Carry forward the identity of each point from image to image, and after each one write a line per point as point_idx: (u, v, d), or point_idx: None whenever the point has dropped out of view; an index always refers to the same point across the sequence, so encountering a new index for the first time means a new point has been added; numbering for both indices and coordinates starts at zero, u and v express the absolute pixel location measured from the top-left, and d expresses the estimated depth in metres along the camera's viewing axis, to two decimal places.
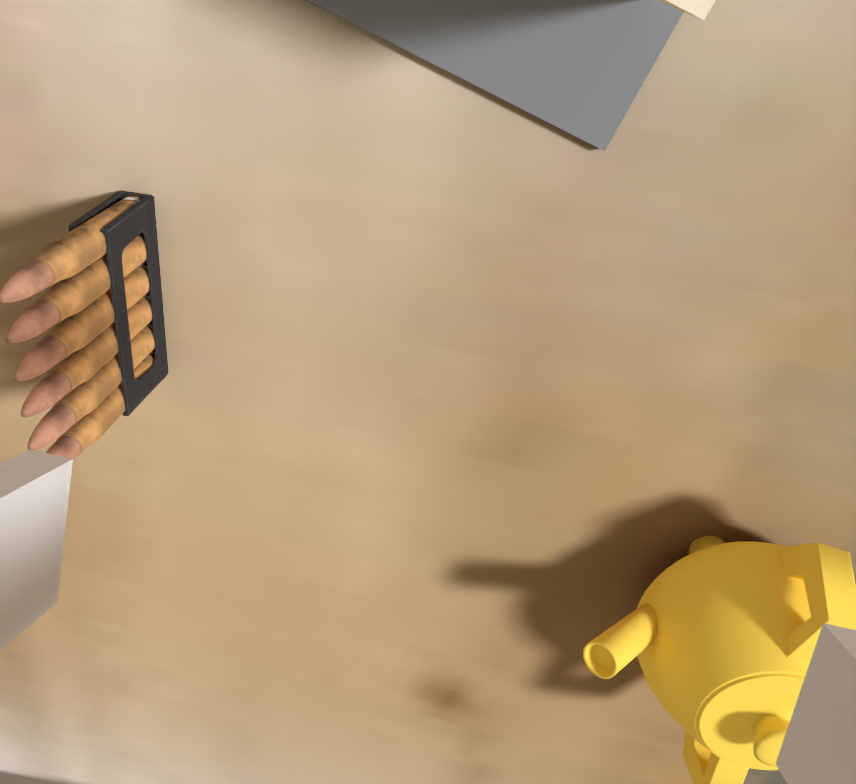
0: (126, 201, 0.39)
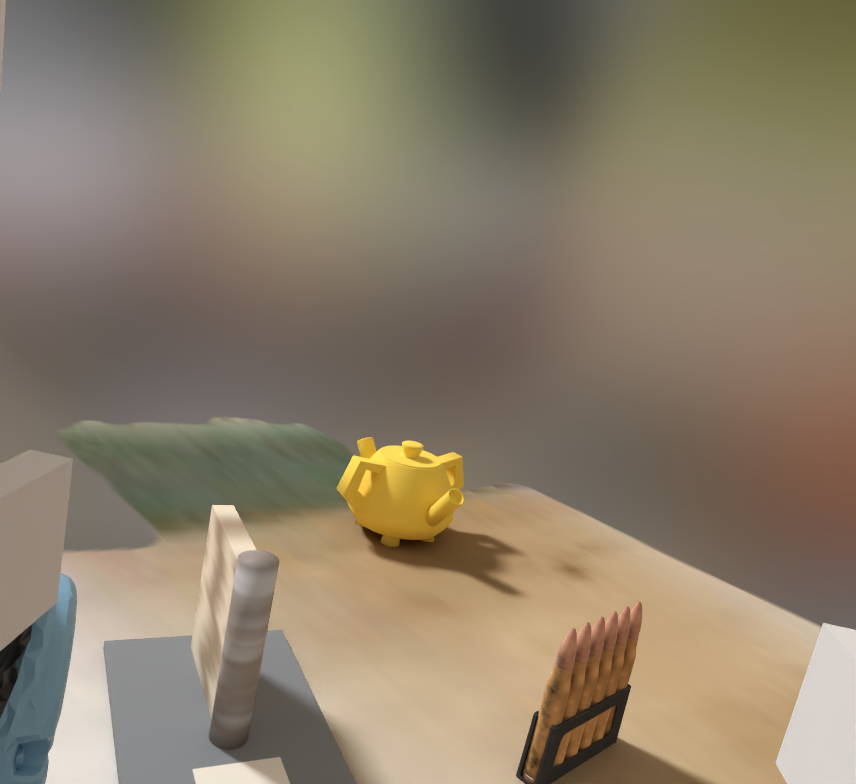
0: (529, 768, 0.54)
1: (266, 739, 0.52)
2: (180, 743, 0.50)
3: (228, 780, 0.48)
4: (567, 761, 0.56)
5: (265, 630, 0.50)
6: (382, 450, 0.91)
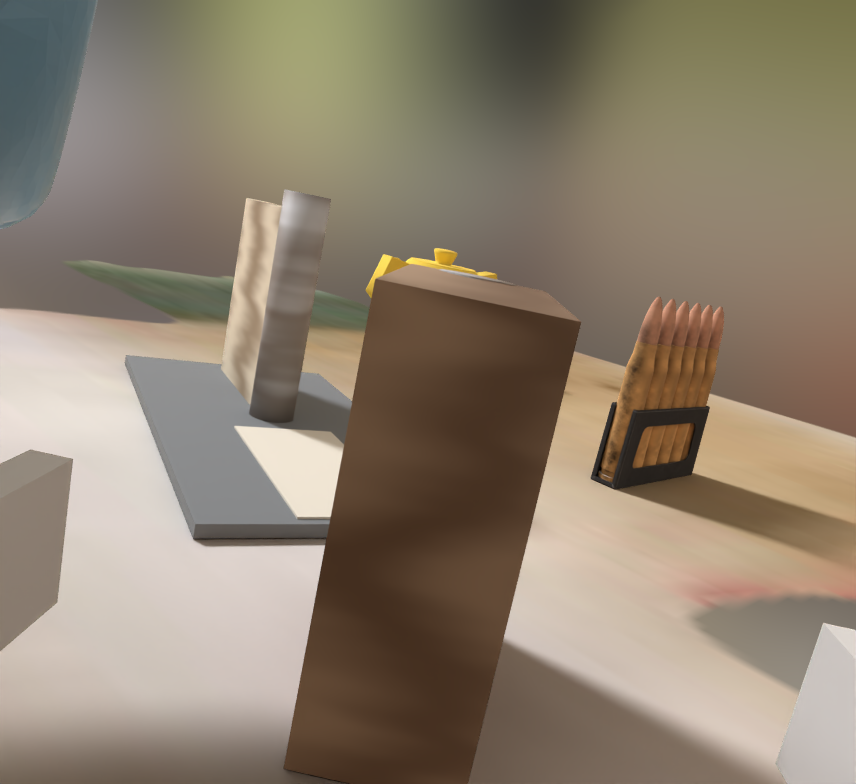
0: (607, 465, 0.48)
1: (313, 422, 0.46)
2: (218, 412, 0.44)
3: (275, 437, 0.42)
4: (646, 468, 0.50)
5: (315, 280, 0.44)
6: (413, 258, 0.85)
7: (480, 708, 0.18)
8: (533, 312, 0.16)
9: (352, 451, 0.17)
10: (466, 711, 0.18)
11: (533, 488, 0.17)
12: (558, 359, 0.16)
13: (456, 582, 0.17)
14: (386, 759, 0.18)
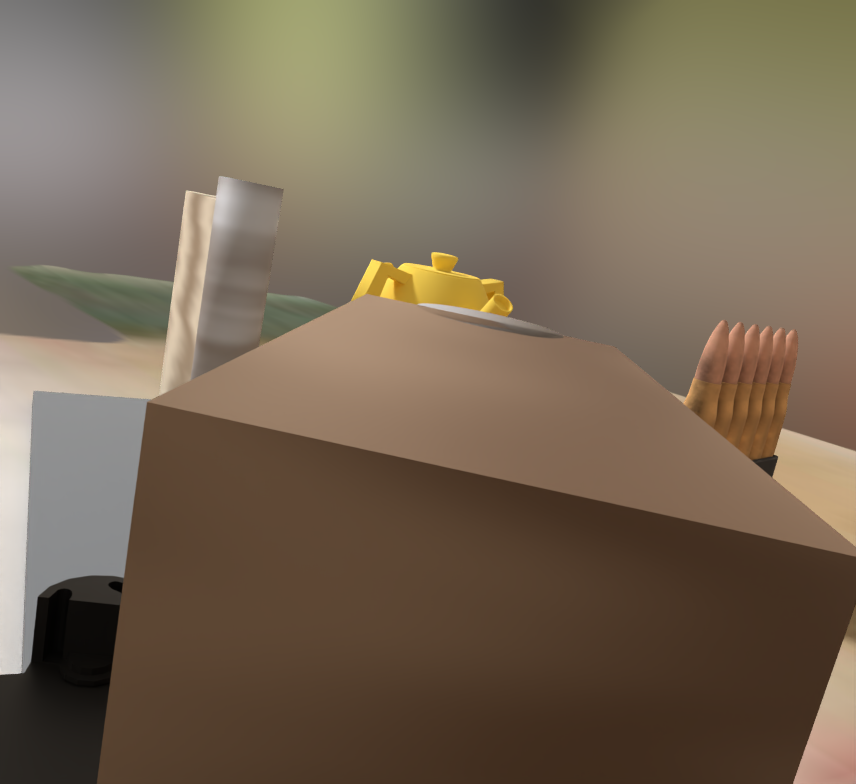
0: None
1: None
2: (132, 478, 0.33)
3: None
4: None
5: (262, 299, 0.32)
6: (406, 263, 0.73)
7: None
8: (699, 523, 0.05)
9: None
10: None
11: None
12: (781, 679, 0.05)
13: None
14: None
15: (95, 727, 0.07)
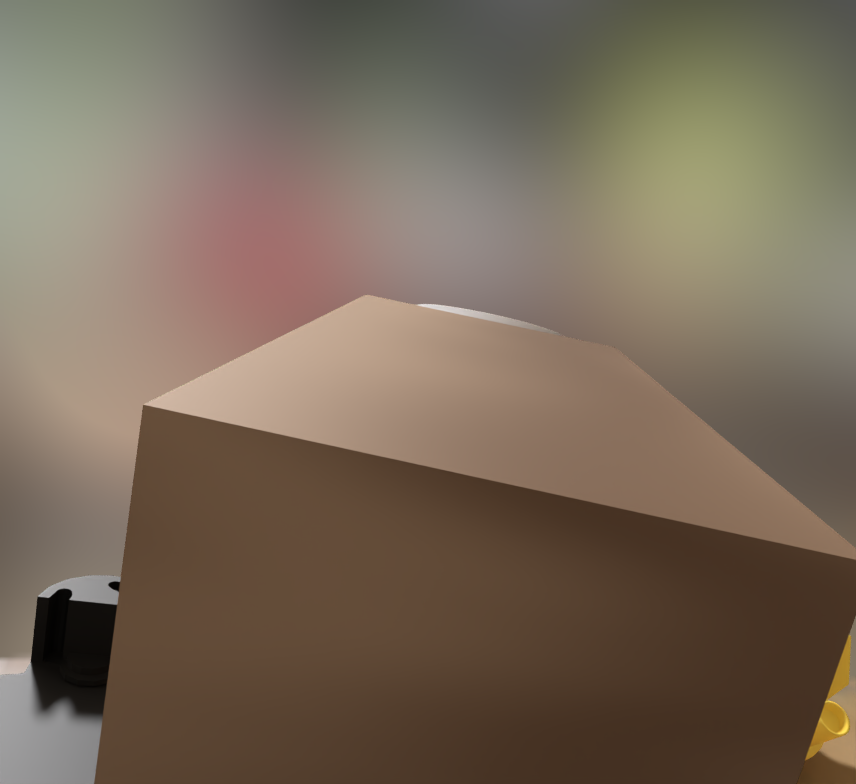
0: None
1: None
2: None
3: None
4: None
5: None
6: None
7: None
8: (700, 526, 0.05)
9: None
10: None
11: None
12: (782, 684, 0.05)
13: None
14: None
15: (95, 727, 0.07)
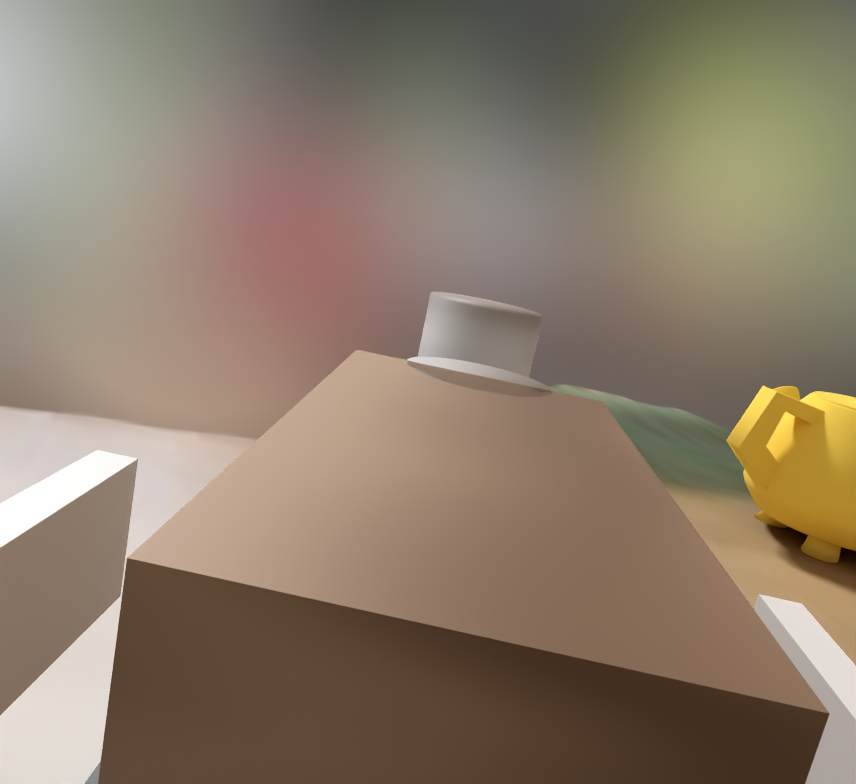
0: None
1: None
2: None
3: None
4: None
5: None
6: (818, 393, 0.52)
7: None
8: (663, 677, 0.05)
9: None
10: None
11: None
12: None
13: None
14: None
15: None
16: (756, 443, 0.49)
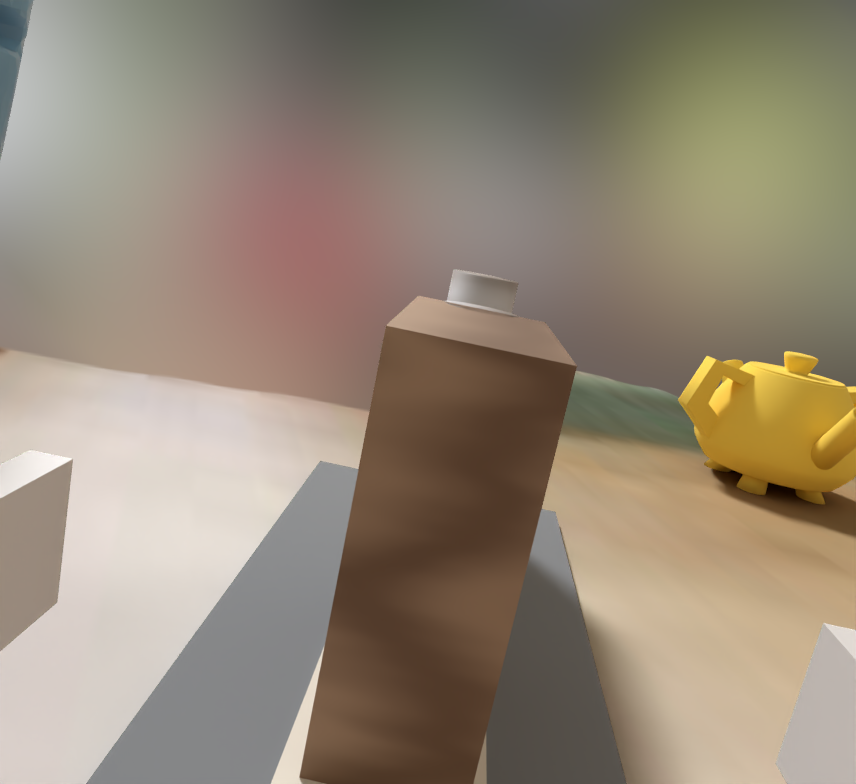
0: None
1: None
2: None
3: None
4: None
5: None
6: (753, 362, 0.64)
7: (483, 722, 0.19)
8: (532, 357, 0.17)
9: (364, 484, 0.18)
10: (470, 725, 0.19)
11: (532, 518, 0.18)
12: (555, 400, 0.18)
13: (460, 604, 0.19)
14: (395, 769, 0.20)
15: None
16: (700, 401, 0.61)
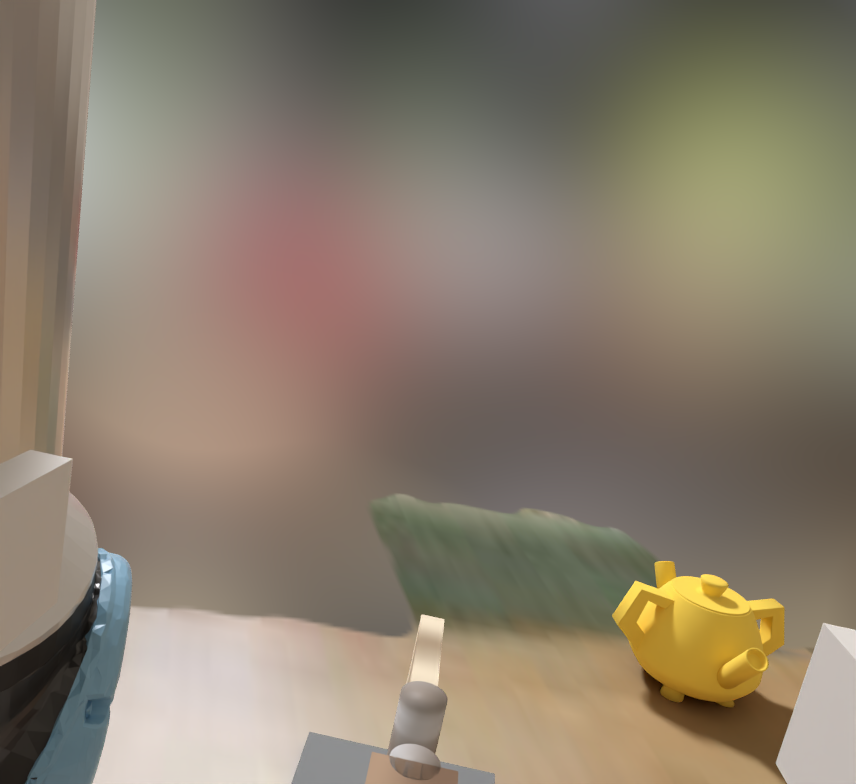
0: None
1: None
2: None
3: None
4: None
5: None
6: (676, 580, 0.77)
7: None
8: None
9: None
10: None
11: None
12: None
13: None
14: None
15: None
16: (629, 621, 0.74)
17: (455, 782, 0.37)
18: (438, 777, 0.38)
